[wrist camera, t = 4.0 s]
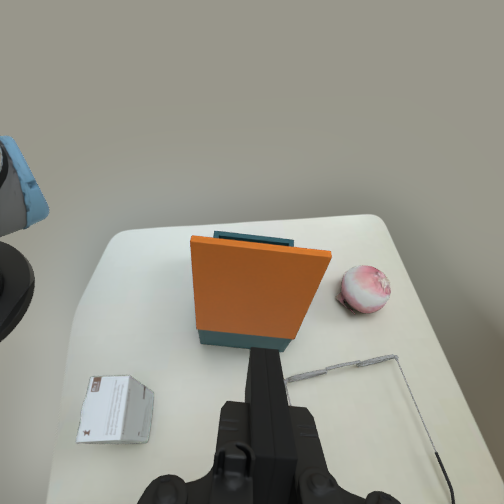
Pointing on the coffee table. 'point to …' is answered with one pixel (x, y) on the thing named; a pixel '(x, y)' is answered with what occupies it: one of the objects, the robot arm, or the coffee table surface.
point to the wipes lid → (254, 285)
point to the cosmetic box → (115, 411)
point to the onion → (364, 289)
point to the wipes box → (245, 339)
